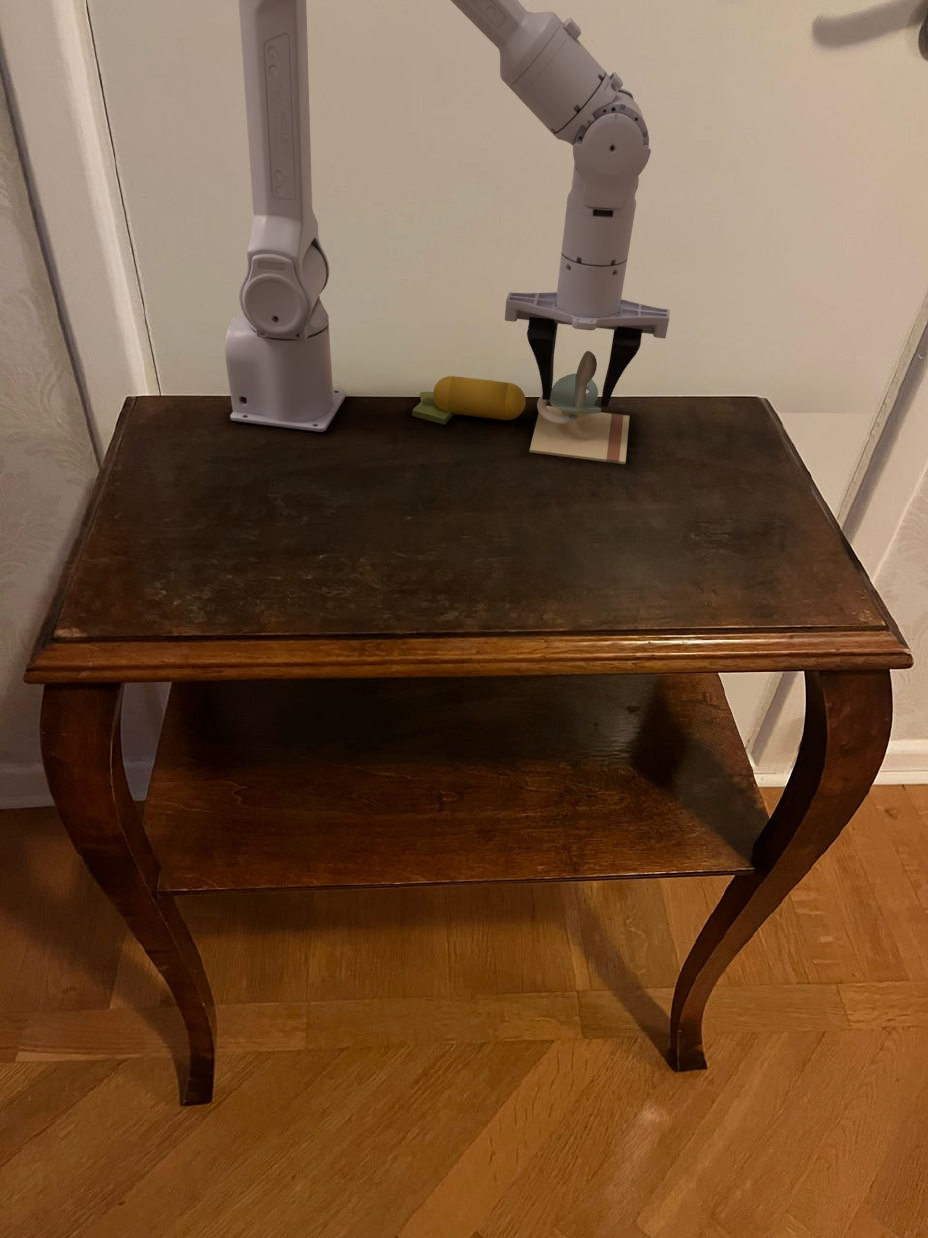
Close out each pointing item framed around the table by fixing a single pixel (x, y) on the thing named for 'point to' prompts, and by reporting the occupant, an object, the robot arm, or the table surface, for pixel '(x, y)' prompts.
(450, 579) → the table surface
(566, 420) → the pacifier
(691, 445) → the table surface
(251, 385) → the robot arm
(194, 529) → the table surface
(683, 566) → the table surface
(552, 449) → the towel
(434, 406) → the corn
